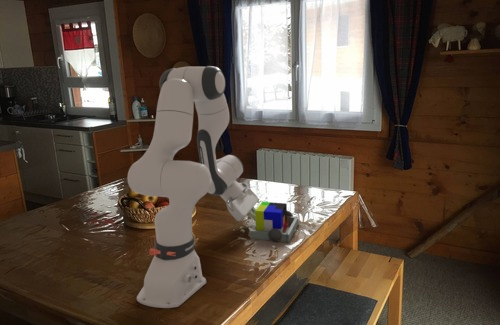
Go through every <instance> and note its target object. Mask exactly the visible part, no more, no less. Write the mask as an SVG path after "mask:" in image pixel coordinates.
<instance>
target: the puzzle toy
mask: <svg viewBox="0 0 500 325" xmlns="http://www.w3.org/2000/svg"><path fill="white" fill-rule="evenodd" d="M287 205H288V204H287V203H285V202H284V203H282V202H270V201H269V202H268V201H262V202H261V203H259V205H258V207H257V208H255V209H256V210H255V218H256V221H255V230H260V231H270V230H271V229H273V228H276V229H279V230H280V231H281V233H285V231H286V230H287V227H288V224H287V211H288V209H287V207H288V206H287Z"/></svg>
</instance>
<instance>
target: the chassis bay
mask: <svg viewBox="0 0 500 325" xmlns="http://www.w3.org/2000/svg"><path fill="white" fill-rule="evenodd" d="M299 222H300V220H299V216H293V213H292V212H291V211H290V210H287V225H290V226H289V228H288V230H287V231H286V232H284V233H281V231H280V230H279V229H276V228H273V229H271V230H270V231H260V230H256V229H250V230H249V235H250V236H249V238H250V239H255V240H266V241H272V242H274V243H275V242H276V243H278V242H283V243H284V242H286V243H289V242H290V243H291V240H292V237H293V236H294V234H295V231H296V230H297V227H298V226H299Z"/></svg>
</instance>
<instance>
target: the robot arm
mask: <svg viewBox="0 0 500 325" xmlns="http://www.w3.org/2000/svg"><path fill="white" fill-rule="evenodd" d="M158 83H159V89H160V90H159V91H160V92H159V96H158V100H157V105H156V115H155V122H154V129H153V130H154V131H153V134H152V135H153V136H152V139H151V141H150V144H149V146H148V148H147V149H146V151H145V152H144V154H143V155H142V156H141V157H140V158H139V159H137V161H135V162H134V163H132V164H131V166H130V167H129V168H128V172H127V184H128V187H129V189H130V190H131V191H132V192H133V193H137V194H140V195H142V196H146V197H163V198H168V201H169V203H168V204H169V205H166V206H165V207H163V208H161V209H160V210H158V211H157V213H156V214H155V217H154V221H153V222H154V230H155V238H156V239H155V241H154V242H155V243H154V247H153V248H152V247H151V248H150V249H149V255H150V256H153V258H152V260H151V263H150V264H149V267H148V269H147V272H146V274H145V276H144V279H143V287H142V288H141V290H140V291H139V293H138V294H137V296H136V301H137V302H138V303H139V304H141V305H144V306H146V307H152V308H158V309H159V308H161V309H171V308H172V309H173V308H177V307H180V306H181V305H182V304H184V302H186V301H187V300H188V299H190V298H191V297H192V296H193V295H194V294H195V293H196V292H197V291H199V290H200V289H201V288H202V287H203V286H204V285H206V284H207V279H206V277H204V276H203V274H202V273H203V272H202V267H201V266H202V265H201V261H200V260H201V259H200V257H199V255H198V254H197V252H196V250H195V247H196V240H195V236H194V235H193V211H194V208H195V206H196V204H197V203H198V201H199V200H200V199H201V198H203V197H204V196H205V195H207V194H209V195H212V196H220V197H221V199H222V200H223V201H224V202H225V204H226V207H227V210H228V212H229V214H230V215H231V216H232V217H233V218H234V220H236V221H237V222H238V223H239V222H241V221H243V220H244V219H245V218H246V216H247V217H248V218H250V219H252V220H253V221H254V222H256V218H255V210H256V209H257V208H255V207H254V206H256V204H257V203H258V202H259V198H258V196H257V195H256V194H255V192H254V191H253V190H252V189H251V188H249V186H248V184H247V183H246V182H238V181H237V179H238V178H239V177H241V175H242V174H243V172H244V165H243V164H244V163H243V162H242V161H241V159H240V158H238V157H237V156H236V155H233V154H227V155H225V156H223V157H221V158H218V159H217V156H216V147H217V144H218V142H219V140H220V138H221V136H222V135H223V133H224V132H225V130H226V129H227V127H228V126H229V124H230V111H229V110H230V109H229V106H228V103H227V102H228V101H227V98H226V95H225V93H224V92H225V91H226V77H225V74H224V73H223V71H222V70H221V69H220V67H218V66H212V65H206V66H193V65H192V66H189V65H188V66H183V67H182V66H181V67H177V68H175V67H174V68H170V69H167V70H165V71H164V72H162V75H160V78H159V82H158ZM194 105H195V106H194ZM194 109H195V110H196V113H197V118H198V119H197V120H198V130H197V135H196V144H197V152H198V157H199V162H196V161H191V160H174V157H175V155H176V154H177V153H178V152H179V151H180V150H181V149H183V148H186V147H187V146H189V144H190V142H191V140H192V136H193V124H194V111H195V110H194Z"/></svg>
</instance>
